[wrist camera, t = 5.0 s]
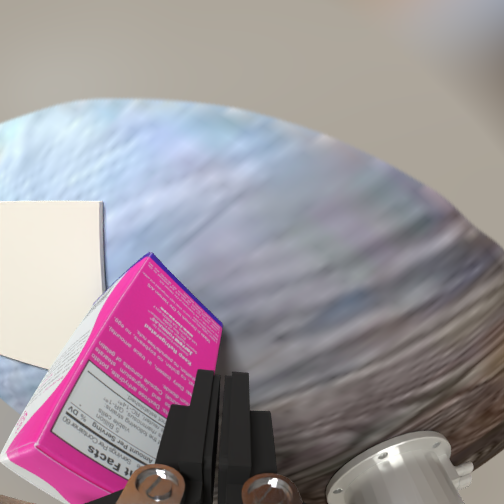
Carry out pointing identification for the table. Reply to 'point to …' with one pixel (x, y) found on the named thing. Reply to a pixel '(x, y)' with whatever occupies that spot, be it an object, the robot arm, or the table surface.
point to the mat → (47, 275)
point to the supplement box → (114, 386)
